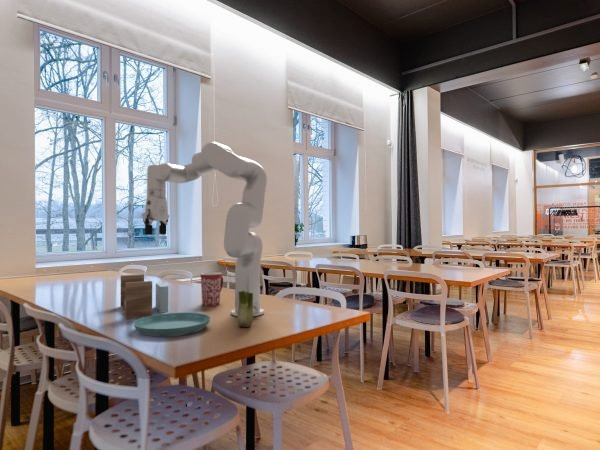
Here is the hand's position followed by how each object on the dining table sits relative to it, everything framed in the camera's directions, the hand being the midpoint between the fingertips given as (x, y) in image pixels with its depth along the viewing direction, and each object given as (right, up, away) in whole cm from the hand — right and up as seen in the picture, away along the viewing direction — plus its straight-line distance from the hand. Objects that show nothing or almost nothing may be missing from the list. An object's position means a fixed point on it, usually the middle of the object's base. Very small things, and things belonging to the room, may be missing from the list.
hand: (155, 234), depth 175 cm
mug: (+24, -31, +4) cm, 39 cm away
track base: (-4, -30, -13) cm, 33 cm away
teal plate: (+20, -31, -40) cm, 54 cm away
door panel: (+5, -30, -8) cm, 32 cm away
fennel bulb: (+43, -30, -37) cm, 64 cm away
